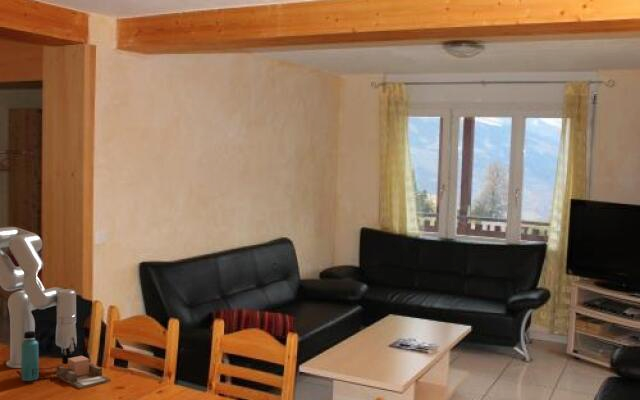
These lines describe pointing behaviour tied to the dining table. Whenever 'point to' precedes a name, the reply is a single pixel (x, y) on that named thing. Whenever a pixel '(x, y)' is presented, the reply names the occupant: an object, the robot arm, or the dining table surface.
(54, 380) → the dining table surface
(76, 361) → the block
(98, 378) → the chute
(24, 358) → the beverage bottle
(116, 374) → the dining table surface
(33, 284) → the robot arm
